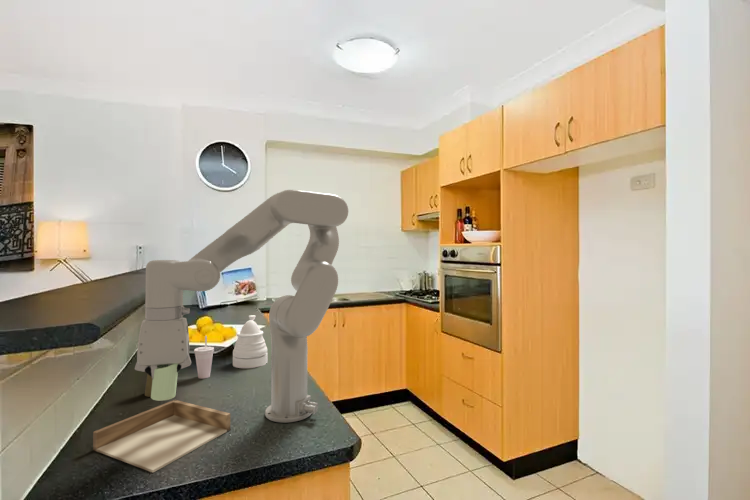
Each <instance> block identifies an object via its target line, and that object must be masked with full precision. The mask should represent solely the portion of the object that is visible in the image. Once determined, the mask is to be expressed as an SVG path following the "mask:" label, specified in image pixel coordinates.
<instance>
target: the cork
mask: <svg viewBox="0 0 750 500" xmlns="http://www.w3.org/2000/svg"><path fill="white" fill-rule="evenodd" d="M152 380H153V379H152V377H151V376H150V375H149V374H147V373H146V382H145V388H144V396H145V397H147V398H148V397H150V398H151V390H152Z"/></svg>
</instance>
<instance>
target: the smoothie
mask: <svg viewBox="0 0 750 500" xmlns="http://www.w3.org/2000/svg"><path fill="white" fill-rule="evenodd" d="M207 338H208V337H207V335H205V336H204V346H201V347H200V346H199V347H196V348H194V349H193V353H194V356H195V357H194V358H195V363H196V370H197V378H198V379H208V378H210V377H211V371H212V363H213V357H214V356H213V354H214V352H215V347H214V346H208V342H207V341H208V339H207Z"/></svg>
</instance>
